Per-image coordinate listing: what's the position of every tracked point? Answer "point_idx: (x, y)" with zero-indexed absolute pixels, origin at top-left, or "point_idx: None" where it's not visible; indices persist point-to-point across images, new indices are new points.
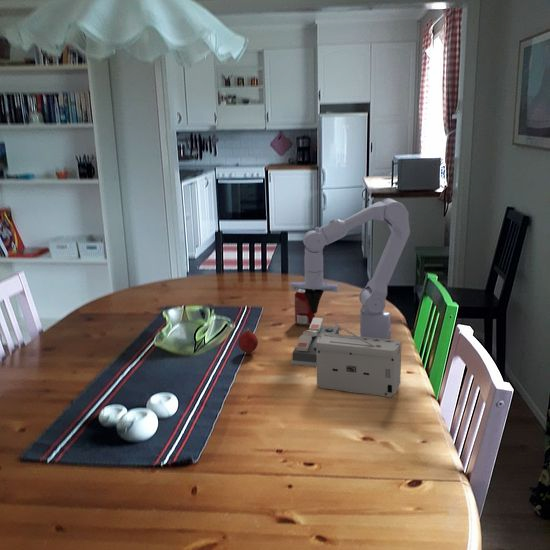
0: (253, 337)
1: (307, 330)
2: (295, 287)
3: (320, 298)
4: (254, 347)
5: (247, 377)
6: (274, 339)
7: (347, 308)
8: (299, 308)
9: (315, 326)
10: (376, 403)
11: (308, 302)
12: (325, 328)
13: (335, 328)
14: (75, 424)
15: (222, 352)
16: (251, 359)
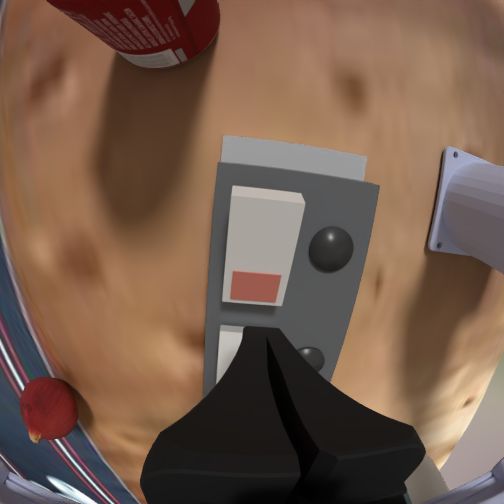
0: (61, 434)
1: (221, 345)
2: (21, 502)
3: (342, 393)
4: (77, 418)
5: (133, 471)
6: (75, 264)
7: None
8: (107, 39)
9: (258, 290)
10: None
11: (161, 3)
12: (309, 220)
13: (363, 216)
14: None
15: (9, 368)
16: (89, 412)
